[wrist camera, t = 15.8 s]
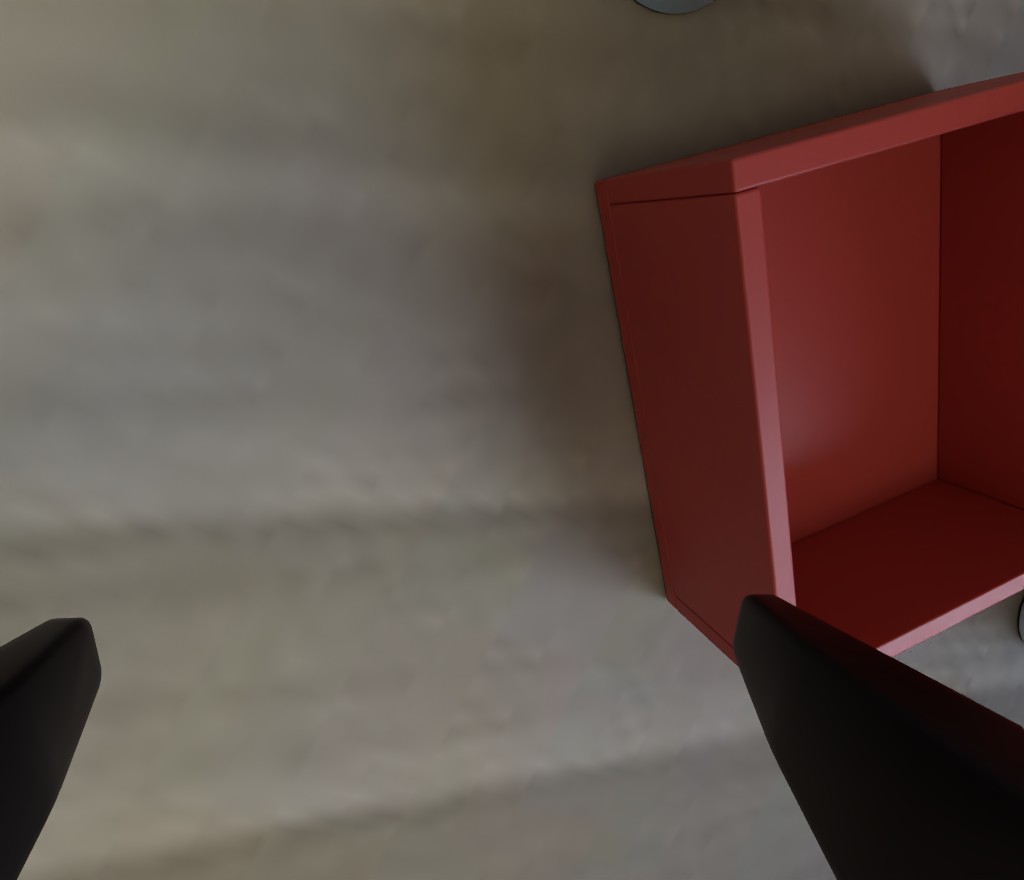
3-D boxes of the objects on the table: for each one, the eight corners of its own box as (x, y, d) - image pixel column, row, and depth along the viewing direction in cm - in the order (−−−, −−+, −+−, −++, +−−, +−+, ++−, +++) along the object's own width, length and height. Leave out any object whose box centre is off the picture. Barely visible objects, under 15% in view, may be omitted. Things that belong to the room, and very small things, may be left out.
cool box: (667, 601, 25) (786, 712, 19) (593, 181, 19) (731, 158, 14) (934, 482, 28) (1107, 546, 22) (937, 90, 23) (1170, 40, 17)
